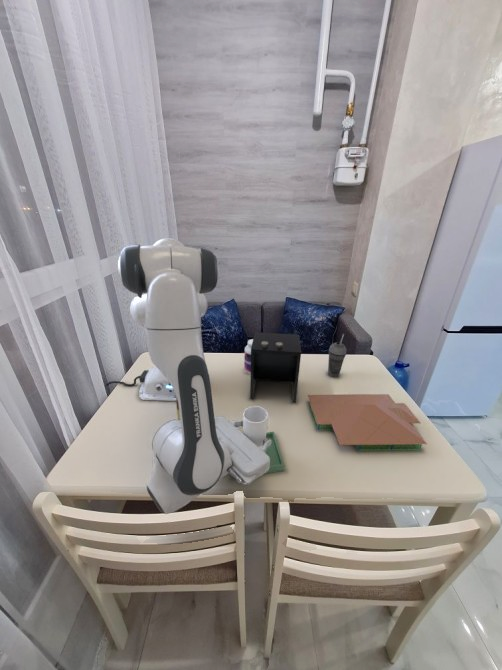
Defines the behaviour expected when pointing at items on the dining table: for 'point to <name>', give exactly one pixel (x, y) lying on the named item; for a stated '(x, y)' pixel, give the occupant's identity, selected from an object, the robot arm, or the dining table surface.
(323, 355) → the dining table surface
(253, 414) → the drinking glass
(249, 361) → the pill bottle
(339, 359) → the beverage cup
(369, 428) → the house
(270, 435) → the tray
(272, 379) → the black coffee maker
